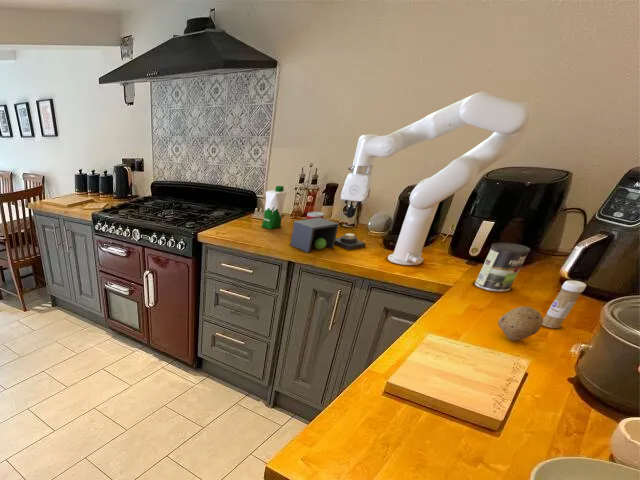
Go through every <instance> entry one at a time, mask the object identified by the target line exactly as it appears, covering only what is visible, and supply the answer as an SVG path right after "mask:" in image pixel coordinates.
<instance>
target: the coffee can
mask: <svg viewBox="0 0 640 480" xmlns="http://www.w3.org/2000/svg"><path fill="white" fill-rule="evenodd" d="M490 246H491V247H490V249H489V252H488V254H487V256H486V258H485V260H484V263H483V265H482V267H481V269H480V272H479V273H478V276H477V278H476V279H475V282H474V285H475V286H476V287H477V288H479V289H482V290H485V291H491V292H497V293H498V292H509V291H511V287H512V285H513V284H514V282H515V280H516V278H517V276H518V274H519V272H520V270H521V268H522V266H523V265H524V262H525V260H526V259H527V257H528V255H529V253H530V252H531V248H530V247H528V246H526V245H523V244H518V243H511V242H496V243H492V244H491V245H490Z"/></svg>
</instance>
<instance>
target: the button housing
mask: <svg viewBox="0 0 640 480" xmlns="http://www.w3.org/2000/svg"><path fill="white" fill-rule="evenodd" d="M344 237H345V235H341V236H340V237H336V239H335V243H334V246H338V247H340V248H343V249H346V250H348V251H351V250H355V249H356V250H357V249H361V248H365V247H366V242H364V241H362V240H359V239H358V237H357V236H354V239H346V238H344Z"/></svg>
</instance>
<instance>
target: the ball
mask: <svg viewBox="0 0 640 480" xmlns="http://www.w3.org/2000/svg"><path fill="white" fill-rule="evenodd" d="M313 246H314V248H315V249H316V250H323V249H324V248H325V247H327V246H326V240H325V239H323V238H319V239H317V240H316V241H315V242H313Z"/></svg>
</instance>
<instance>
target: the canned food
mask: <svg viewBox="0 0 640 480" xmlns="http://www.w3.org/2000/svg"><path fill="white" fill-rule="evenodd" d="M313 218H323V219H325V212H322V211H309V212H307V214H306V219H305V220H307V219H313Z"/></svg>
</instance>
